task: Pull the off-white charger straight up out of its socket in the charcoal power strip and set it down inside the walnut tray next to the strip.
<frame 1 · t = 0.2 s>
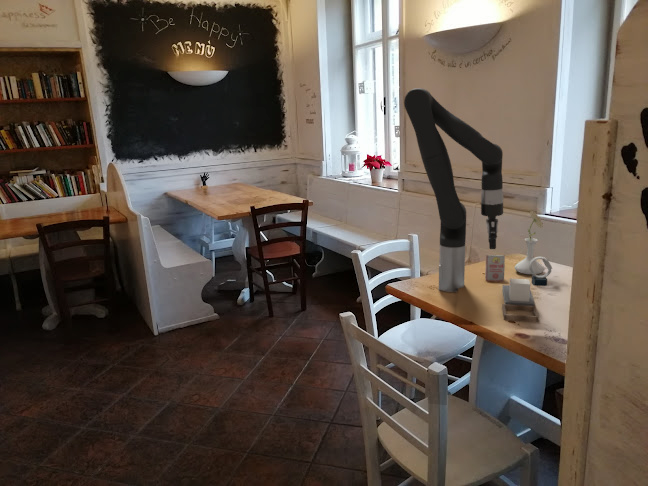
hand: (492, 245, 184), 17 cm above the table, tool pointing down, fingers open, 8 cm apart
tea box: (494, 280, 201), on the table
watch: (539, 285, 193), on the table
tray: (519, 319, 163), on the table
flower in vase: (529, 272, 208), on the table
power strip: (517, 303, 176), on the table
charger: (518, 303, 171), point 1 cm above the table, touching power strip
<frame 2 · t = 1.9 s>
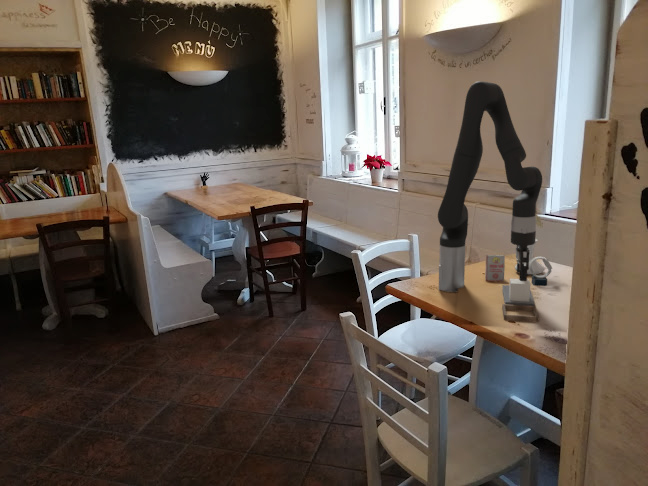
hand: (521, 276, 169), 11 cm above the table, tool pointing down, fingers open, 8 cm apart
nothing on the table moved.
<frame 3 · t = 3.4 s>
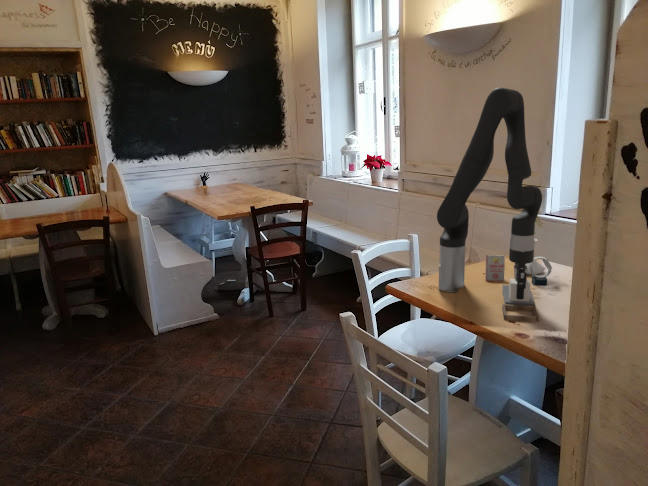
hand: (519, 295, 171), 4 cm above the table, tool pointing down, fingers closed on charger, 5 cm apart
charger: (518, 303, 171), point 2 cm above the table, touching gripper, power strip
everything else where it was.
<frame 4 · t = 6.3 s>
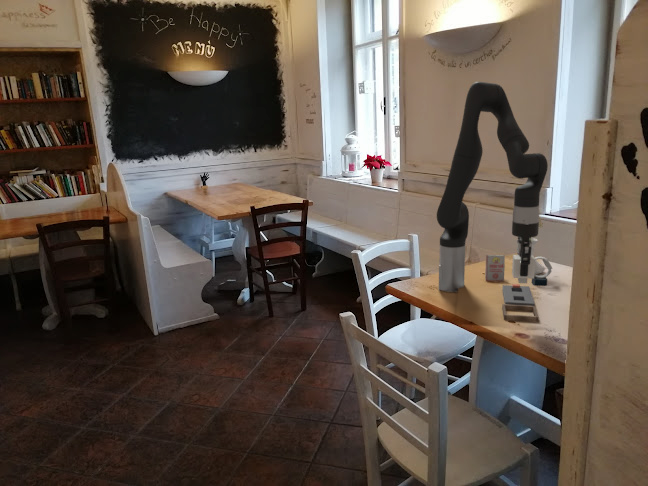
hand: (522, 273, 159), 15 cm above the table, tool pointing down, fingers closed on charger, 5 cm apart
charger: (522, 281, 160), point 13 cm above the table, touching gripper
everything else where it was.
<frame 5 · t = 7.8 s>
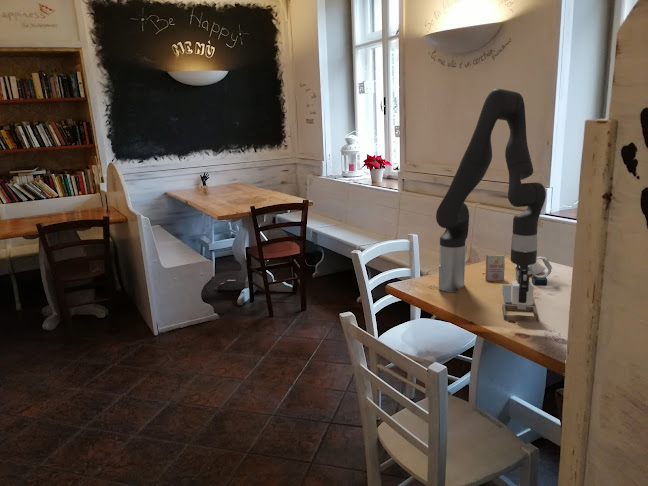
hand: (521, 299, 161), 7 cm above the table, tool pointing down, fingers closed on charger, 5 cm apart
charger: (521, 307, 162), point 4 cm above the table, touching gripper
everything else where it was.
when the fingers open (4 cm above the table, at t = 9.2 s): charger stays where it is, resting on tray.
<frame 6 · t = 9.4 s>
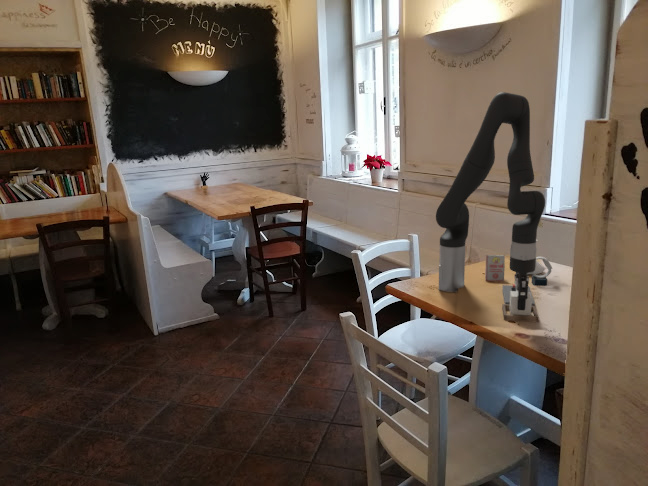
hand: (520, 305, 162), 5 cm above the table, tool pointing down, fingers open, 6 cm apart
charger: (519, 317, 163), point 1 cm above the table, touching tray
everything else where it was.
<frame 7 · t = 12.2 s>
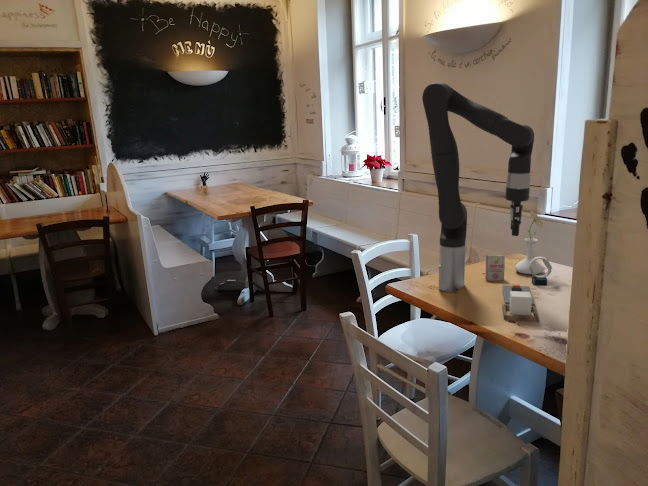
hand: (514, 232, 176), 24 cm above the table, tool pointing down, fingers open, 8 cm apart
nothing on the table moved.
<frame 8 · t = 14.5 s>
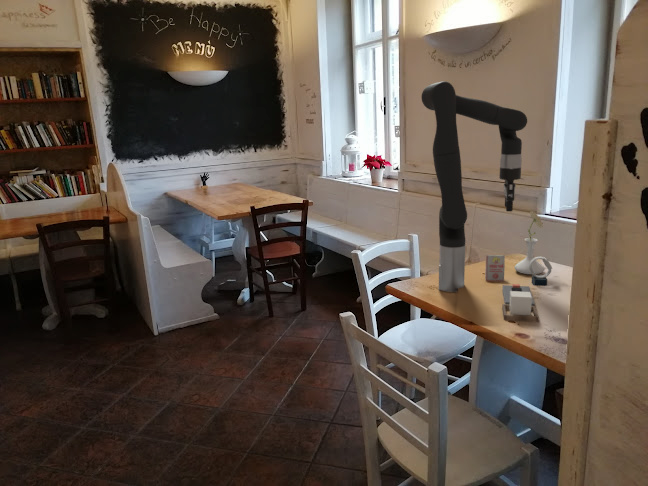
hand: (508, 209, 194), 28 cm above the table, tool pointing down, fingers open, 8 cm apart
nothing on the table moved.
at the end: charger 0.0 cm off-centre on the tray, point 0.5 cm above the tray's base; the gripper is holding nothing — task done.
